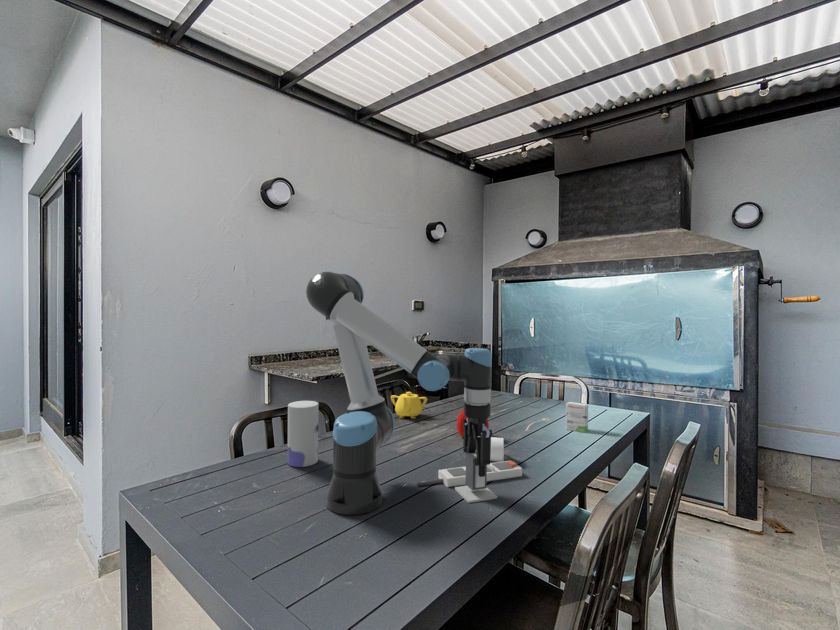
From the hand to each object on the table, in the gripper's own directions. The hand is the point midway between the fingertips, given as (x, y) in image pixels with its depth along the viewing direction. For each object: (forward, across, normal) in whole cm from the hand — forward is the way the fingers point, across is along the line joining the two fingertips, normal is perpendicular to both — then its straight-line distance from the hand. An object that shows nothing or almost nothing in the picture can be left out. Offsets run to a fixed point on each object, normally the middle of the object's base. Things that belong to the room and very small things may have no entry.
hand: (475, 482), depth 120 cm
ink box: (+3, +42, -72) cm, 83 cm away
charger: (+1, 0, 0) cm, 1 cm away
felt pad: (+3, 0, 0) cm, 3 cm away
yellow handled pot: (+3, +83, -7) cm, 83 cm away
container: (+3, +40, +45) cm, 60 cm away
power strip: (+3, +10, -3) cm, 11 cm away
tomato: (+3, +47, -23) cm, 52 cm away
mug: (+3, +24, -18) cm, 30 cm away
